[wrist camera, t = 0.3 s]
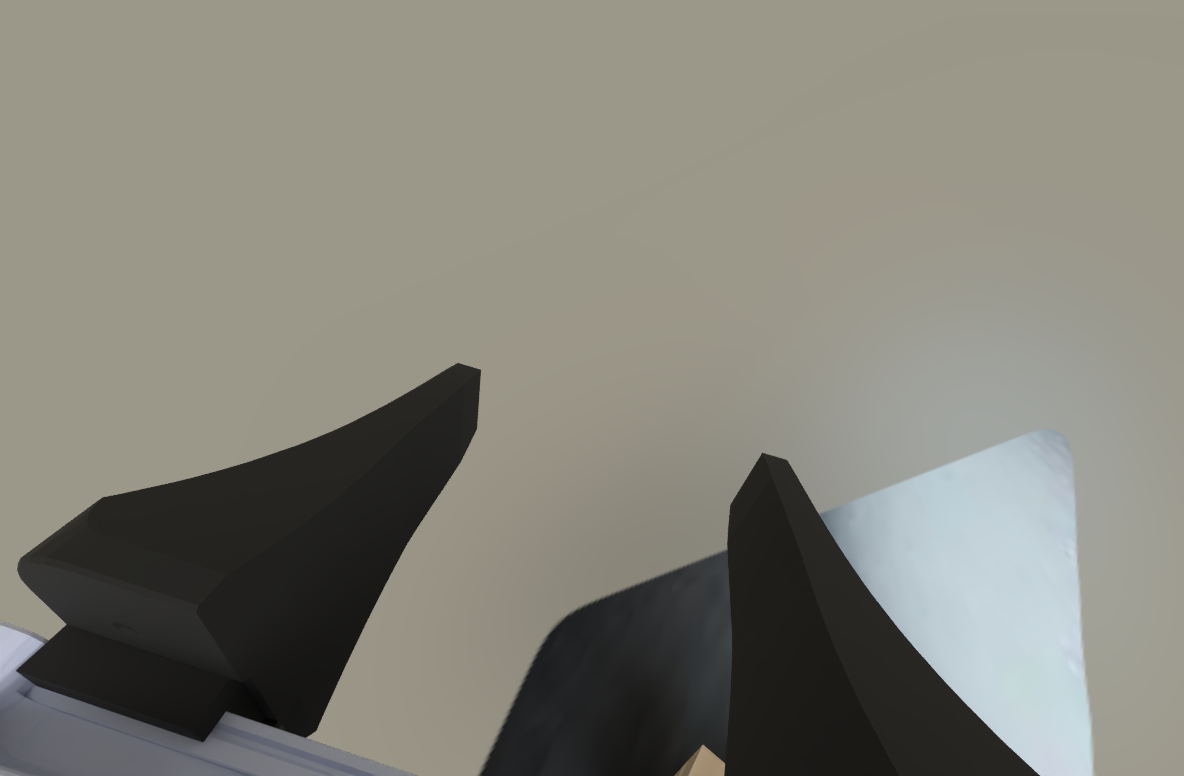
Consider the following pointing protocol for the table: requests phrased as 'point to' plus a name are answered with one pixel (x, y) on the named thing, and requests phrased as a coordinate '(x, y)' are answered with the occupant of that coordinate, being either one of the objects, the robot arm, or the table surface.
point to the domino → (702, 764)
